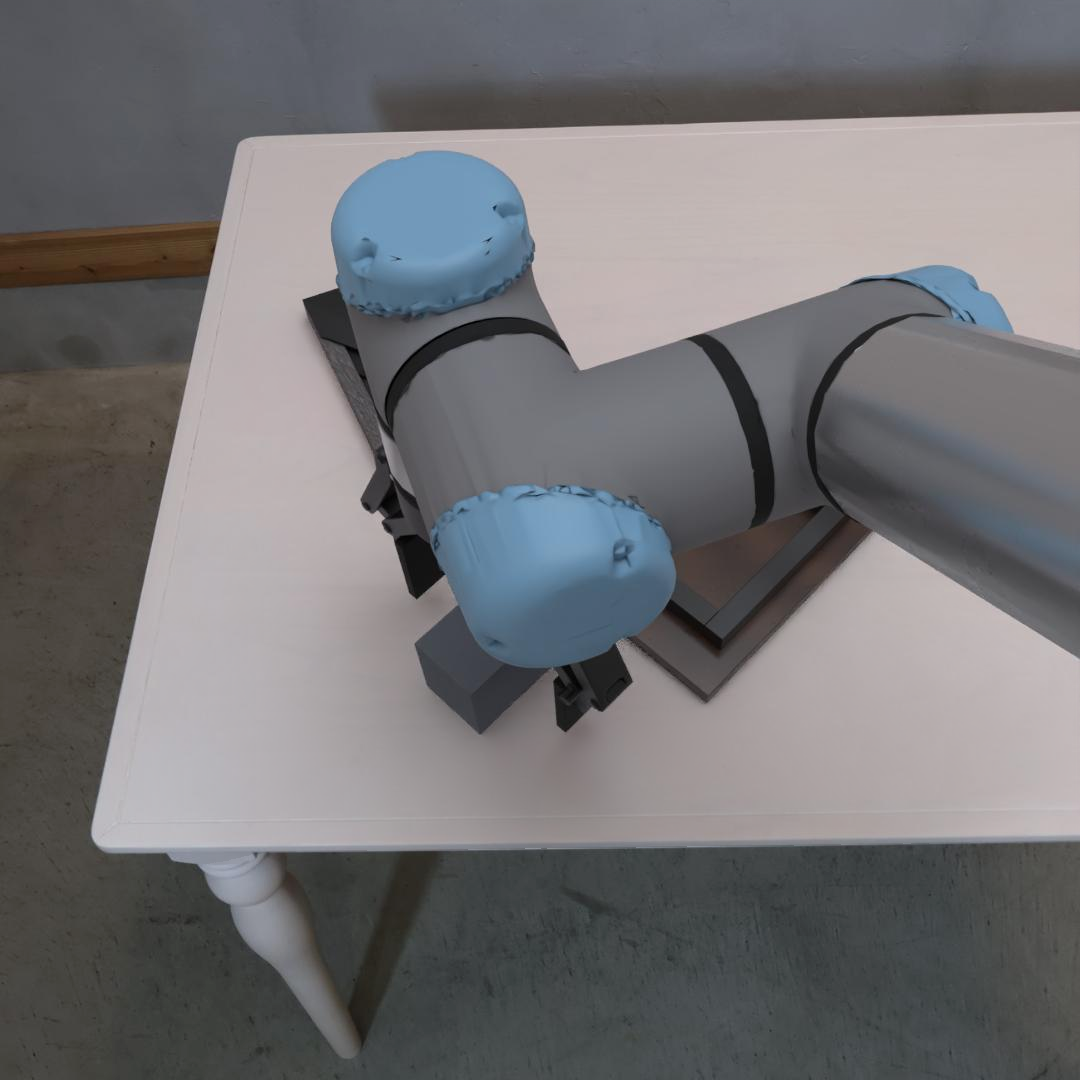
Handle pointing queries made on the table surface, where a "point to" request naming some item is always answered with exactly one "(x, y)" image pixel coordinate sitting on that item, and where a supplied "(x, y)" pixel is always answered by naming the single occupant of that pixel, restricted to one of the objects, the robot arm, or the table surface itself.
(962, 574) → the robot arm
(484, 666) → the pad block
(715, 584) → the back plate
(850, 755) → the table surface
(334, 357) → the picture frame
